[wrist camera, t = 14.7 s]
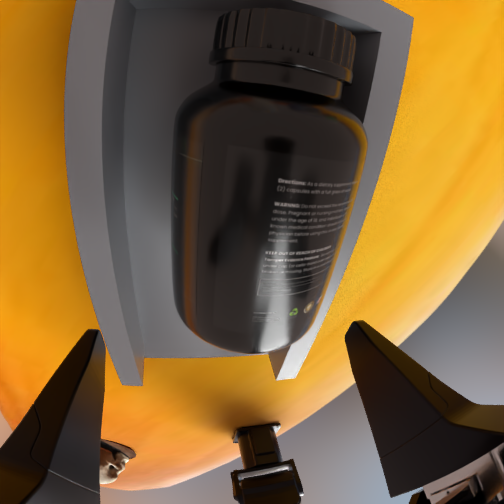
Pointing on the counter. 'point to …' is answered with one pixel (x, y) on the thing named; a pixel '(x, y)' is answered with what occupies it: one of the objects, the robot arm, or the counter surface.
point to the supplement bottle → (264, 179)
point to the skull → (113, 460)
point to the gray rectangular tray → (160, 154)
